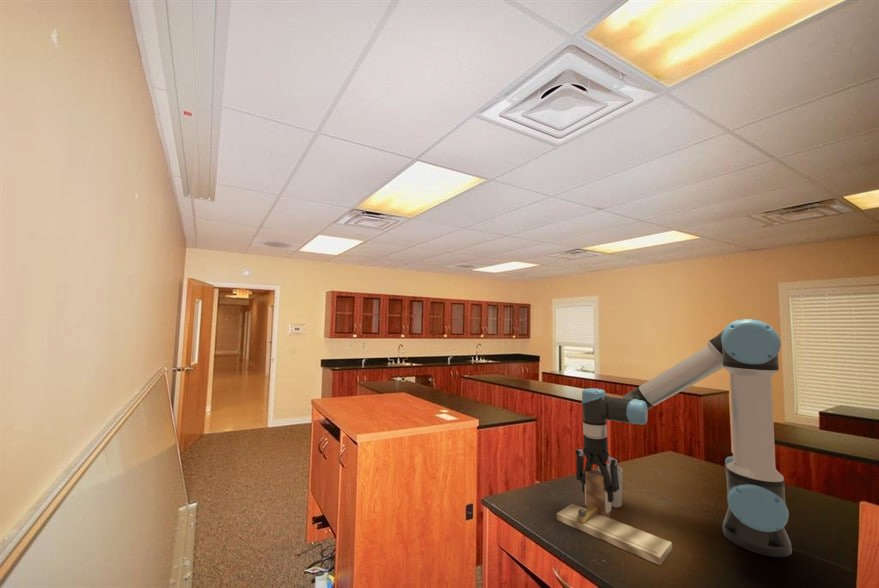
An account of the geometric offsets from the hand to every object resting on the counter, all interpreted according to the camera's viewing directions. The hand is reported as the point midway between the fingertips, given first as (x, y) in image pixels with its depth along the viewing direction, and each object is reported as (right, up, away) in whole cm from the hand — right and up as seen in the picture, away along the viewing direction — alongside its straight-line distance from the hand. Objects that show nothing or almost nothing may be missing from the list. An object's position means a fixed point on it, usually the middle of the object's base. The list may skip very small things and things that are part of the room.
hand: (598, 507), depth 119 cm
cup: (+9, -4, +9) cm, 13 cm away
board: (-1, -2, -10) cm, 11 cm away
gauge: (-4, -3, -4) cm, 6 cm away
